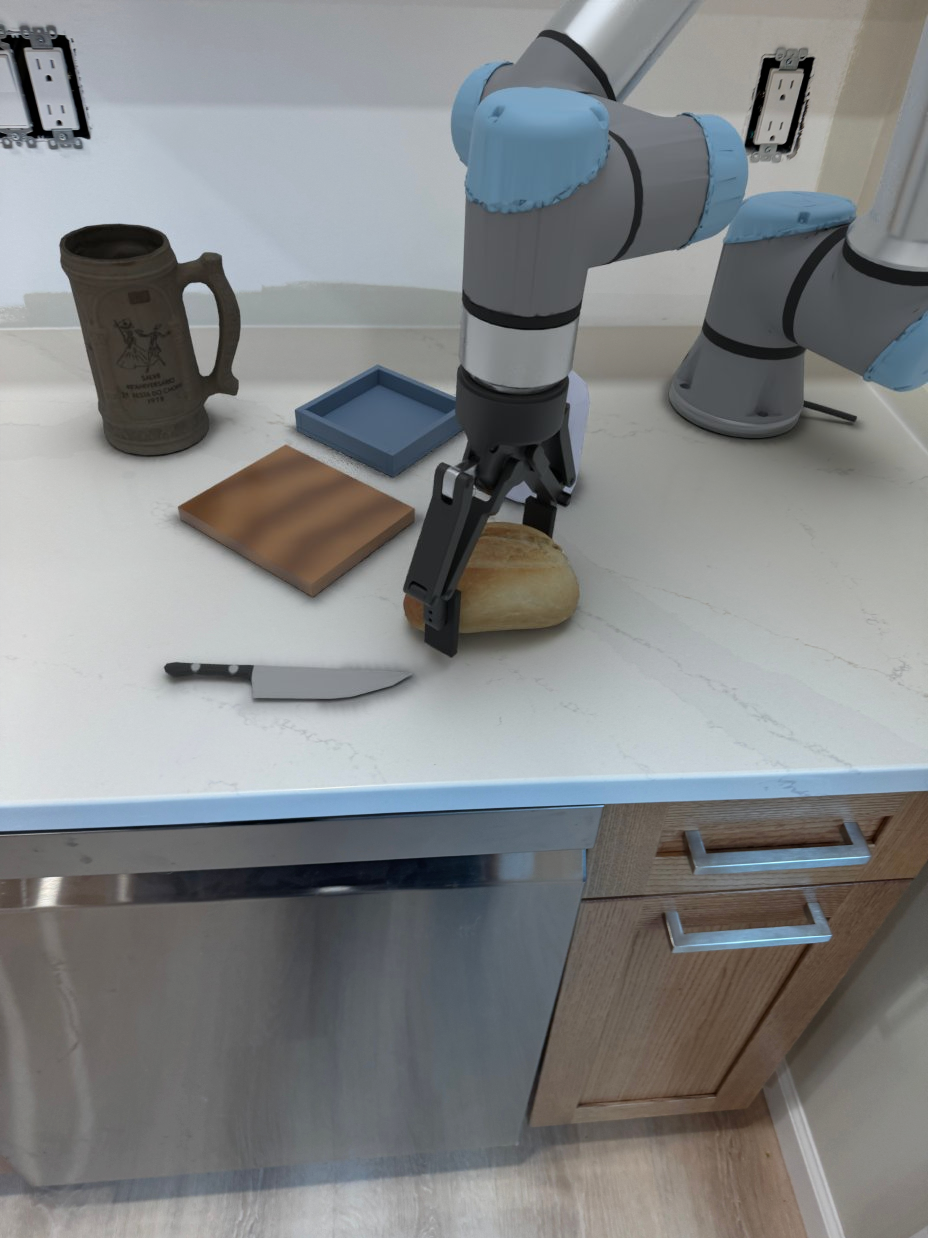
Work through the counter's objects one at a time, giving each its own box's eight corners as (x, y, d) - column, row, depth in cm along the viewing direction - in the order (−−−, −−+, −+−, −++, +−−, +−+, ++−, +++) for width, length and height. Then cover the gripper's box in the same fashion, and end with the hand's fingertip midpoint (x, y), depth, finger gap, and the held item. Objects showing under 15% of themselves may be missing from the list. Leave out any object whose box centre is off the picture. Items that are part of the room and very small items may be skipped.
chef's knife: (411, 706, 63) (413, 674, 65) (412, 697, 62) (413, 665, 64) (157, 698, 62) (166, 667, 64) (153, 689, 61) (163, 658, 63)
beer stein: (108, 467, 82) (65, 263, 69) (89, 415, 89) (47, 220, 76) (258, 444, 89) (246, 253, 75) (230, 397, 95) (214, 214, 82)
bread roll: (392, 587, 72) (391, 514, 66) (554, 567, 75) (566, 495, 69) (414, 667, 65) (415, 593, 60) (590, 641, 68) (607, 568, 63)
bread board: (414, 520, 79) (414, 508, 78) (312, 597, 70) (311, 584, 69) (287, 456, 85) (285, 443, 84) (180, 519, 77) (177, 506, 76)
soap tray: (470, 424, 92) (472, 403, 90) (393, 477, 84) (392, 455, 82) (378, 384, 97) (377, 363, 95) (296, 430, 89) (294, 409, 87)
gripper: (562, 294, 63) (531, 516, 78) (344, 421, 48) (356, 666, 63) (649, 324, 60) (600, 549, 75) (446, 469, 45) (434, 714, 60)
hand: (489, 603), depth 69 cm, fingers closed on bread roll, 13 cm apart
